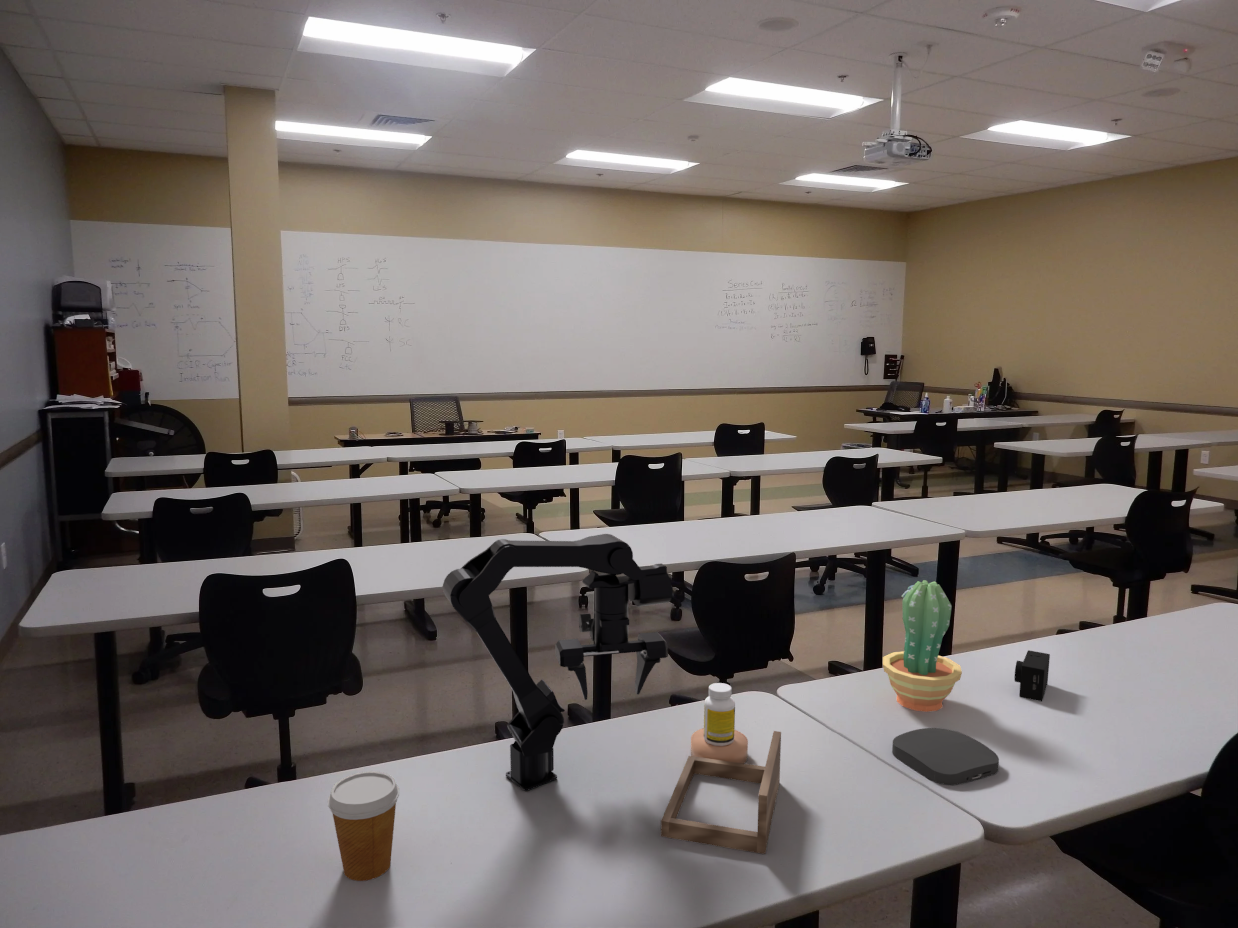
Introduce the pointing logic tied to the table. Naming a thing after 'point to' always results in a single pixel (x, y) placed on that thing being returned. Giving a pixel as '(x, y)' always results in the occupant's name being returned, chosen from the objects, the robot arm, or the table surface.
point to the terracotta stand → (720, 748)
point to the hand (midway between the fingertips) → (611, 696)
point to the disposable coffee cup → (364, 822)
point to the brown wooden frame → (734, 771)
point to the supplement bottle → (719, 715)
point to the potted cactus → (923, 650)
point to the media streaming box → (945, 755)
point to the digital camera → (1033, 675)
